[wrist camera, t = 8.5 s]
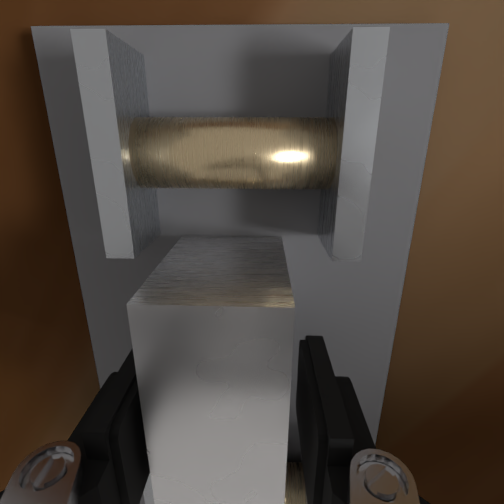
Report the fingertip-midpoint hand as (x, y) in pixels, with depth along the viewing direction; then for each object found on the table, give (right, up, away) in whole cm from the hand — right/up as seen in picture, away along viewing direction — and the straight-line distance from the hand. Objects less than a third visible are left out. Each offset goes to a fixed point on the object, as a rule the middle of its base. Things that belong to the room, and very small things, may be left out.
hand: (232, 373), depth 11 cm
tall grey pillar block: (0, 0, +2) cm, 2 cm away
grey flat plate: (0, +1, +2) cm, 3 cm away
